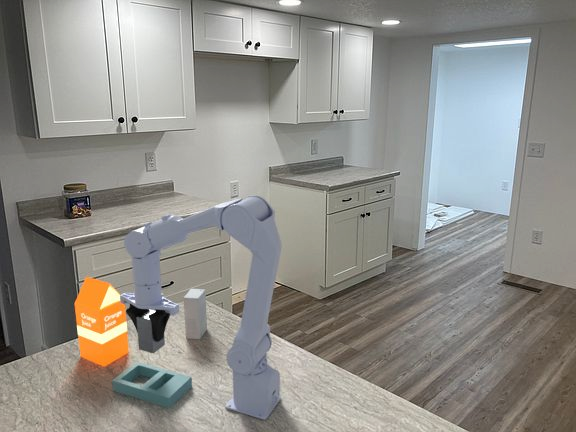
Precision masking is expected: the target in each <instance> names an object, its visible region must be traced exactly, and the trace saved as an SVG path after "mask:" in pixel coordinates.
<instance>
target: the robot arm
mask: <svg viewBox="0 0 576 432" xmlns="http://www.w3.org/2000/svg"><path fill="white" fill-rule="evenodd" d="M275 213H276V211H275V210H274V208H273V207H272V206H271V204H270V203H269V202H268V201H267V200H266V199H265V198H264V197H262V196H260V195H257V194H256V195H255V194H254V195H250V196H248V197H246V198H243V197H242V198H236V199H233V200H229V201H225V202H222V203H218V204H217V205H214V206H211V207H209V208H206V209H204V210H202V211H199V212H196V213H194V214H192V215H189V216H187V217H184V218H183V217H181V216H179V215H176V214H175V215H171V214H169V213H168V214H166V215H163V216H161V219H160V220H157V221H154V222H152V221H149V222H147V223H144V226H142V227H139V228H137V229H134V230H131V231H130V232H128V233H127V234H126V235H125V237H124V242H123V243H124V248H125V251H126V252H127V253H128V254H129V255H130V256H131V266H132V267H131V268H132V280H133V291H134V292H127V291H126V292H124V293H122V294H120V303H121V304H129V307H127V308H125V313H126V316H128V317H129V318H130V320H131V321H132V323H133V325H134V328H135V330H136V333H137V334H138V331H137V318H136V317H137V316H139V315H140V314H142V313H143V312H145V311H147V310H148V309H149V310H153V311H155V312H154V313H152V314H150V315H149V318H150V320H151V323H152V326H153V330H154V338H155V341H156V342H159V341H160V340H162V339H163V338H165V332H166V327H167V324H168V321H169V319H170V317H172V316H173V317H174V316H175V315H177V314H179V313H180V304H179V303H175V302H174V301H171V300H169V299H167V298H166V297H164V293H162V291H163V289H162V276H161V261H160V260H161V258H160V256H161V254H162V253H161V250H163V249H166V248H169V247H172V246H175V245H178V244H181V243H184V242H185V241H186V240H187V238H188V236H189V234H190V233H193V232H196V231H200V230H204V229H207V228H209V227H213V226H215V227H216V228H217V230H218V231H221V232H223V231H224V230H225V232H226V233H227V234H228V235H229V236H230V237H231V238H232V239H234V240H236V241H237V242H238V243H240V244H241V245H243V247H245V248H246V249H247V250H249V251H250V252H251V254H252V255H251V256H252V258H251V263H250V266H249V267H250V268H249V274H248V278H247V279H248V280H247V287H246V291H245V298H244V303H243V310H242V315H241V320H240V321H241V322H240V326H239V328H238V330H237V332H236V334H235V336H234V338H233V343H232V346H231V347H230V348H229V349H228V350H227V353H226V363H227V365H228V367H229V369H231V371H232V395H233V396H232V397H231V398H230V399H229V401H228V402H227V403H226V404H225V409H228V410H230V411H234V412H238V413H240V414H244V415H247V416H251V417H254V418H257V419H259V420H263V421H264V420H267V419H268V418H269V416H270V415H271V413H272V412H273V410H274V409H275V408H276V406H277V405H278V404H279V402H280V401H281V399H282V396H281V395H280V394H281V393H280V391H281V388H280V387H281V386H280V385H281V383H280V382H281V381H280V380H281V376H280V371H279V370H278V369H276V368H274V367H272V366H271V365H270V364H268V359H267V357H268V356H267V355H268V354H267V353H268V352H269V351H270V349H271V348H272V344H273V343H272V337H271V326H270V324H269V323H268V320H269V315H270V310H271V304H272V300H273V294H274V289H275V283H276V279H277V273H278V267H279V262H280V258H281V254H282V253H281V252H282V241H281V237H280V235H279V231H278V228H277V224H276V220H275V218H276V217H275V216H276V215H275Z"/></svg>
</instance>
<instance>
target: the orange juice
mask: <svg viewBox="0 0 576 432" xmlns="http://www.w3.org/2000/svg"><path fill="white" fill-rule="evenodd" d="M120 295H121V294H120V293H119V292H118V291H117V290H116V289H115V288H114V286H112V284H111V283H110V282H106V281H102V280H99V279H96V278H92V277H88V276H85V279H84V281H83V283H82V285H81V288H80V291H79V293H78V295H77V297H76V299H75V302H74V310H75V321H76V328H77V336H78V345H79V354H80V355H79V356H80V357H81V358H83V359H85V360H88V361H90V362H91V363H92V362H93V363H95V364H97V365H99V366H102V367H106V366H108V365H110V364H112V363H113V362H114V361H116V360H118V359H120V358H122V357H123V356H125V355H127V354H128V353H130V351H129V350H130V349H129V339H128V338H129V337H128V324H127V322H128V321H127V314H126V305H125V304H126V303H125V304H121V303H120Z"/></svg>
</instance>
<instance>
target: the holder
mask: <svg viewBox="0 0 576 432" xmlns="http://www.w3.org/2000/svg"><path fill="white" fill-rule="evenodd" d="M138 376H143V377H145V378H150V379H148V380H147V381H146V382H145V383H144V384H138V383H133V382H132V381H133V380H134V379H136V378H137V377H138ZM192 379H193V378H192V376H190V375H186V374H183V373H179V372H176V371H172V370H169V369H165V368H163V367H158V366H155V365H150V364H148V363H144V362H141V361H136V362H135V363H134V364H132V365H131V366H129V368H127V369H126V370H124V371H123V372H121V373H120V374H119V375H117V376H115V378H114V379H112V380H111V381H112V382H111V383H112V391H114V392H117V393H120V394H123V395H127V396H130V397H131V398H132V397H133V398H135V399H137V400H142V401H144V402H148V403H152V404H153V405H157V406H161V407H164V408H166V409H171V408H172V406H173V405H175V404H176V403H177V402H178V401H179V400H180V399H181V398H182V397H183V396H184V395H185V394H186V393H187V392H188V391H189V390H191V388H193V380H192Z"/></svg>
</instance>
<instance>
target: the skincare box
mask: <svg viewBox="0 0 576 432" xmlns="http://www.w3.org/2000/svg"><path fill="white" fill-rule="evenodd" d="M206 294H207V293H206V289H202V288H201V289H199V288H190V289H189V290H188V292H187V293H186V294H185V295H184V297H183V311H184V314H183V315H184V326H185V327H184V329H185V338H186V339H189V340H191V339H192V340H201V339H202V338H203V336H204V335H205V333H206V331H207V330H208V323H207V322H208V319H207V318H208V317H207V300H206V299H207V297H206Z"/></svg>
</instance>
